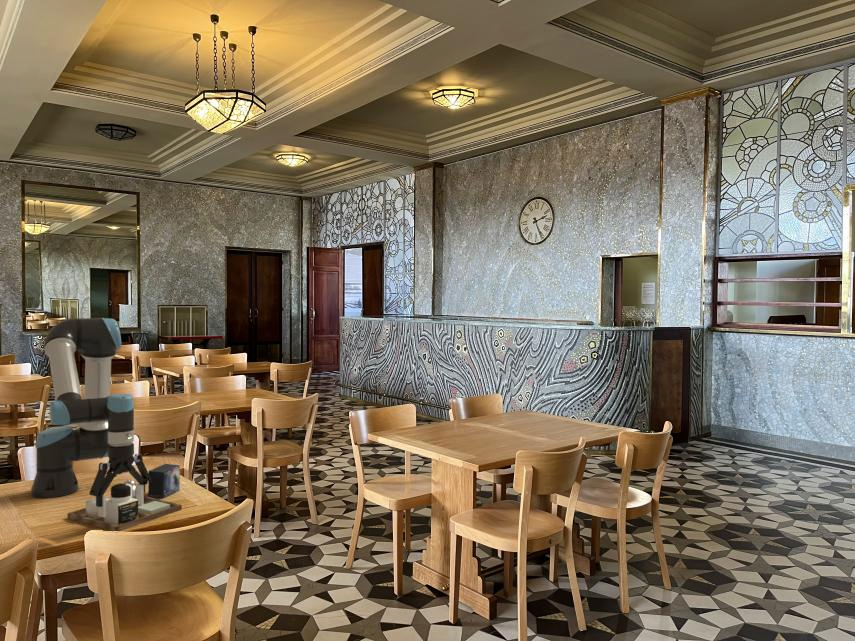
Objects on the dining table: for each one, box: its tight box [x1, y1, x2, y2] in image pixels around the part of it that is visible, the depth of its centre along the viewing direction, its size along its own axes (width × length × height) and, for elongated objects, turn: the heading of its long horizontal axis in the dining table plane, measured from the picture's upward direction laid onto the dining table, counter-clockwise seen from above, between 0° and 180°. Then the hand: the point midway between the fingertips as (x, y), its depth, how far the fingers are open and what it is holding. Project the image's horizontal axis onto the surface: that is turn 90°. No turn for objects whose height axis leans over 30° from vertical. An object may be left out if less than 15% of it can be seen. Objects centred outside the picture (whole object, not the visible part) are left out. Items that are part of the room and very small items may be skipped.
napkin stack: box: [138, 501, 170, 515], centre depth 219 cm, size 8×8×2 cm
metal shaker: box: [123, 479, 137, 499], centre depth 224 cm, size 4×4×9 cm
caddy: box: [67, 495, 183, 532], centre depth 217 cm, size 24×24×2 cm
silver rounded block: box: [85, 497, 111, 519], centre depth 214 cm, size 7×7×5 cm
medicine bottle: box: [105, 482, 138, 526], centre depth 208 cm, size 7×7×12 cm
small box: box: [147, 463, 181, 500], centre depth 238 cm, size 11×6×10 cm, turn 168°
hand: (121, 510), depth 208 cm, fingers open, 13 cm apart
